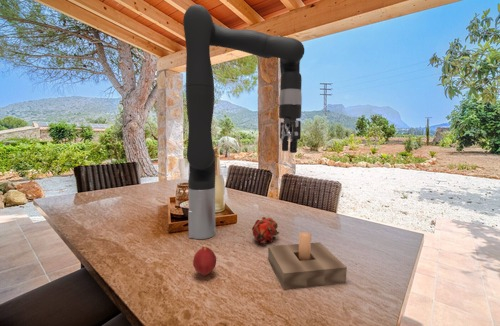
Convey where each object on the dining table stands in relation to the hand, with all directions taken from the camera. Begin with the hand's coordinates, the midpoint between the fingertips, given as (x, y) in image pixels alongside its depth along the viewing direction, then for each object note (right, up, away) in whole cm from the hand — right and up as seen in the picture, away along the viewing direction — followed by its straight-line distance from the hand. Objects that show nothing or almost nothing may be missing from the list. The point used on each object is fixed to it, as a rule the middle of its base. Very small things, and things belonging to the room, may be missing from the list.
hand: (288, 151), depth 84 cm
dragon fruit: (-8, -31, -2) cm, 32 cm away
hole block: (+1, -33, -20) cm, 38 cm away
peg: (+1, -33, -20) cm, 38 cm away
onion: (-25, -33, -22) cm, 47 cm away
